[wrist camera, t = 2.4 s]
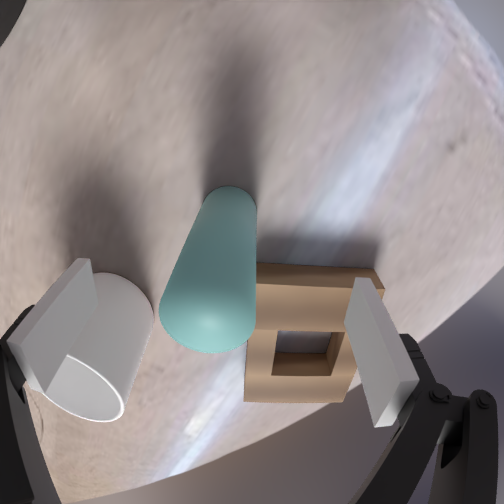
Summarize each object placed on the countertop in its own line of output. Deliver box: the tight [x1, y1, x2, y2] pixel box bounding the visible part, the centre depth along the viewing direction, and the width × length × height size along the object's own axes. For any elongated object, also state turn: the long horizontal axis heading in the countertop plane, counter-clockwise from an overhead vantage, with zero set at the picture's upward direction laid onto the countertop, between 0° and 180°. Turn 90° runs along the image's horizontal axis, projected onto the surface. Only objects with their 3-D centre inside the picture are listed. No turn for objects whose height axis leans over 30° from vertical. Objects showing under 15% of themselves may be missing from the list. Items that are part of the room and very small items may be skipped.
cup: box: [42, 273, 154, 422], centre depth 24 cm, size 8×12×10 cm
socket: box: [244, 262, 385, 403], centre depth 27 cm, size 14×10×3 cm
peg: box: [159, 186, 257, 353], centre depth 18 cm, size 4×4×12 cm
